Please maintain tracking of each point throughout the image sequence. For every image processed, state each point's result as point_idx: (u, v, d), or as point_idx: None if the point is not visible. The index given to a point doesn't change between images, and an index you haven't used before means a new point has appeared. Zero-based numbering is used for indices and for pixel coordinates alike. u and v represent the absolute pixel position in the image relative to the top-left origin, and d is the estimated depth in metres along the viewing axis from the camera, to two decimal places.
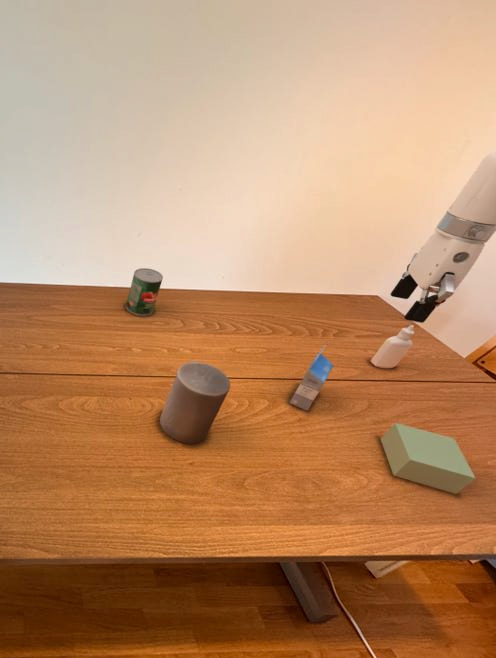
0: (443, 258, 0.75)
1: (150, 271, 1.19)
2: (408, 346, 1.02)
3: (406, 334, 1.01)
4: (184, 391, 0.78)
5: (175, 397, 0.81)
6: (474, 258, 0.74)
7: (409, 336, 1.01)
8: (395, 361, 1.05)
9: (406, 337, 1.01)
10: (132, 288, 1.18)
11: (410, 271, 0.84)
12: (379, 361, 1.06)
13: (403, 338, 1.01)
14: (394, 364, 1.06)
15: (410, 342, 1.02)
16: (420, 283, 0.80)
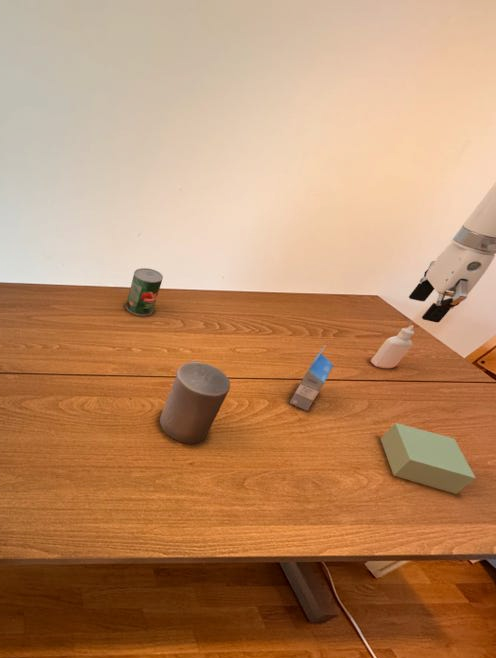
0: (458, 266, 0.87)
1: (150, 271, 1.19)
2: (408, 346, 1.02)
3: (406, 334, 1.01)
4: (184, 391, 0.78)
5: (175, 397, 0.81)
6: (485, 267, 0.85)
7: (409, 336, 1.01)
8: (395, 361, 1.05)
9: (406, 337, 1.01)
10: (132, 288, 1.18)
11: (428, 277, 0.96)
12: (379, 361, 1.06)
13: (403, 338, 1.01)
14: (394, 364, 1.06)
15: (410, 342, 1.02)
16: (437, 288, 0.91)
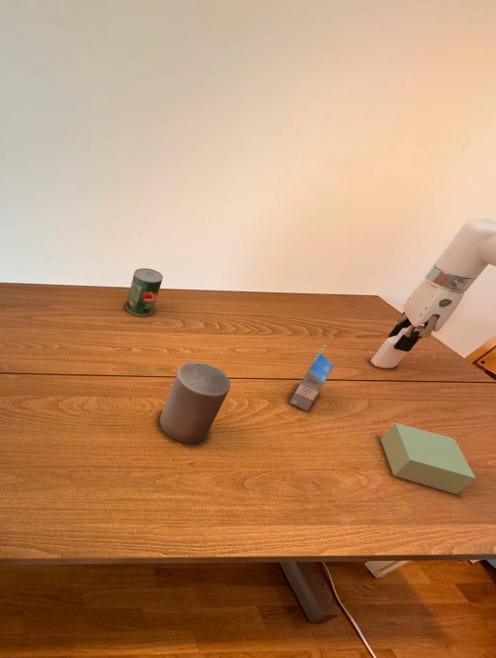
0: (431, 303, 0.92)
1: (150, 271, 1.19)
2: None
3: None
4: (184, 391, 0.78)
5: (175, 397, 0.81)
6: (455, 304, 0.91)
7: None
8: (395, 361, 1.05)
9: None
10: (132, 288, 1.18)
11: (404, 310, 1.01)
12: (379, 361, 1.06)
13: None
14: (394, 364, 1.06)
15: None
16: (412, 321, 0.97)
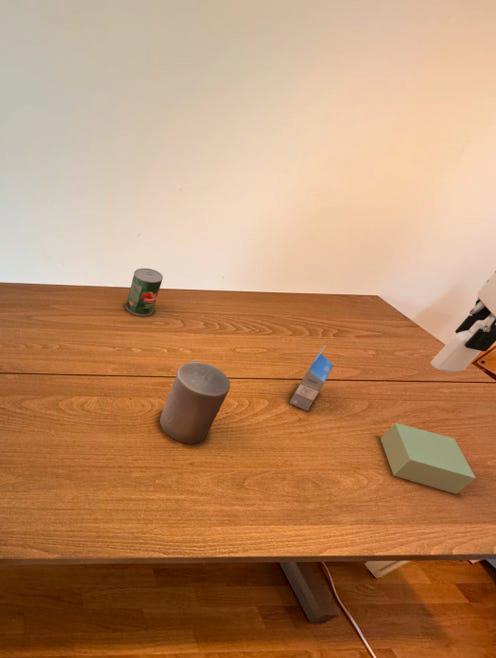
0: None
1: (150, 271, 1.19)
2: None
3: (482, 328, 0.77)
4: (184, 391, 0.78)
5: (175, 397, 0.81)
6: None
7: None
8: (465, 364, 0.81)
9: None
10: (132, 288, 1.18)
11: (481, 297, 0.77)
12: (442, 364, 0.82)
13: None
14: (462, 368, 0.82)
15: None
16: (495, 311, 0.73)
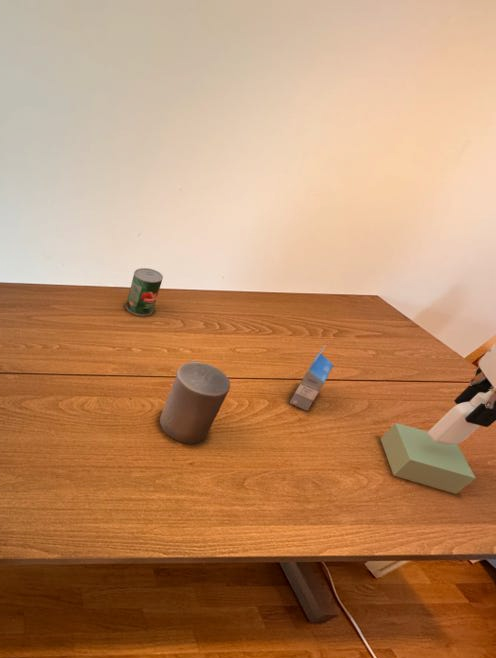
0: None
1: (150, 271, 1.19)
2: None
3: (484, 402, 0.71)
4: (184, 391, 0.78)
5: (175, 397, 0.81)
6: None
7: None
8: (465, 436, 0.75)
9: None
10: (132, 288, 1.18)
11: (482, 368, 0.71)
12: (441, 436, 0.76)
13: None
14: (462, 440, 0.76)
15: None
16: None
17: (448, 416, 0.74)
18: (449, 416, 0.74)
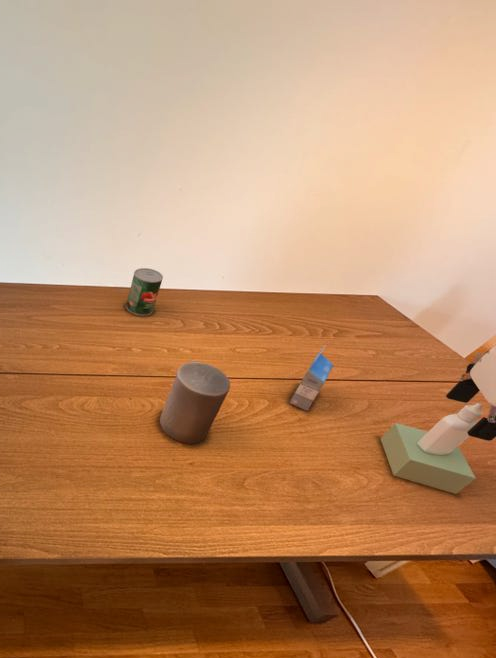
0: None
1: (150, 271, 1.19)
2: None
3: (471, 415, 0.73)
4: (184, 391, 0.78)
5: (175, 397, 0.81)
6: None
7: (475, 417, 0.73)
8: (453, 447, 0.77)
9: (471, 419, 0.73)
10: (132, 288, 1.18)
11: (473, 377, 0.72)
12: (430, 447, 0.78)
13: (467, 419, 0.73)
14: (450, 451, 0.78)
15: None
16: (488, 398, 0.68)
17: (437, 427, 0.76)
18: (438, 428, 0.76)
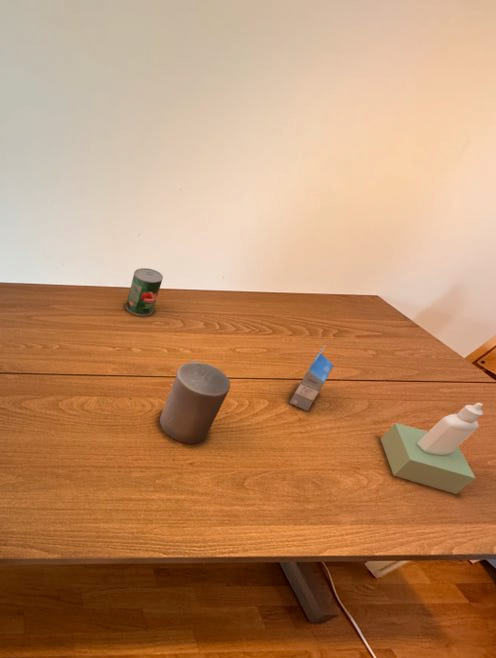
0: None
1: (150, 271, 1.19)
2: (473, 430, 0.74)
3: (471, 415, 0.73)
4: (184, 391, 0.78)
5: (175, 397, 0.81)
6: None
7: (475, 417, 0.73)
8: (453, 447, 0.77)
9: (471, 419, 0.73)
10: (132, 288, 1.18)
11: None
12: (430, 447, 0.78)
13: (467, 419, 0.73)
14: (450, 451, 0.78)
15: (476, 424, 0.74)
16: None
17: (437, 427, 0.76)
18: (438, 427, 0.76)
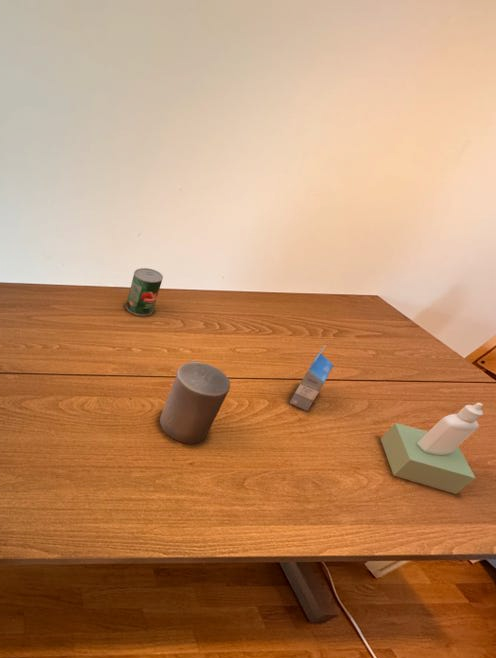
0: None
1: (150, 271, 1.19)
2: (473, 430, 0.74)
3: (471, 415, 0.73)
4: (184, 391, 0.78)
5: (175, 397, 0.81)
6: None
7: (475, 417, 0.73)
8: (453, 447, 0.77)
9: (471, 418, 0.73)
10: (132, 288, 1.18)
11: None
12: (430, 447, 0.78)
13: (467, 419, 0.73)
14: (450, 451, 0.78)
15: (476, 424, 0.74)
16: None
17: (437, 427, 0.76)
18: (438, 427, 0.76)
